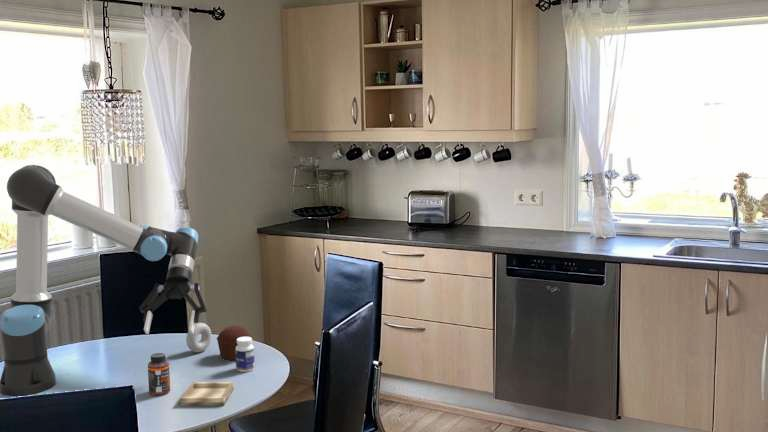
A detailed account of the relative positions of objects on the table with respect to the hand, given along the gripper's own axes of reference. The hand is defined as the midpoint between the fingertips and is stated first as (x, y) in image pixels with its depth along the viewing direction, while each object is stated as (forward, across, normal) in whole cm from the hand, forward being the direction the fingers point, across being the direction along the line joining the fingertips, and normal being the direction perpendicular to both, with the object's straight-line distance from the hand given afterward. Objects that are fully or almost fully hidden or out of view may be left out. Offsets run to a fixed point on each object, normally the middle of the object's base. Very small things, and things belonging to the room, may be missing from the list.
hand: (168, 332), depth 227 cm
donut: (-7, -2, -28) cm, 29 cm away
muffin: (-4, -15, -25) cm, 29 cm away
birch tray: (+21, -15, 0) cm, 26 cm away
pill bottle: (+5, -21, -16) cm, 27 cm away
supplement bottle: (+18, 0, -3) cm, 18 cm away
